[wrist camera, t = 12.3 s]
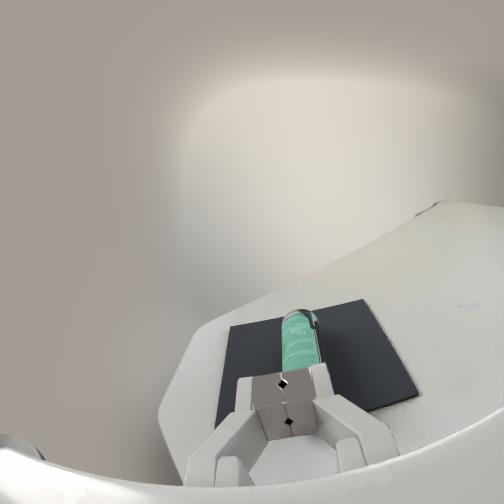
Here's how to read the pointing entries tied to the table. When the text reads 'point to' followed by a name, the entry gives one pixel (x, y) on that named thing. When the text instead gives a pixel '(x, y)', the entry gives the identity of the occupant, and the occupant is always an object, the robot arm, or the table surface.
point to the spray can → (301, 341)
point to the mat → (337, 354)
